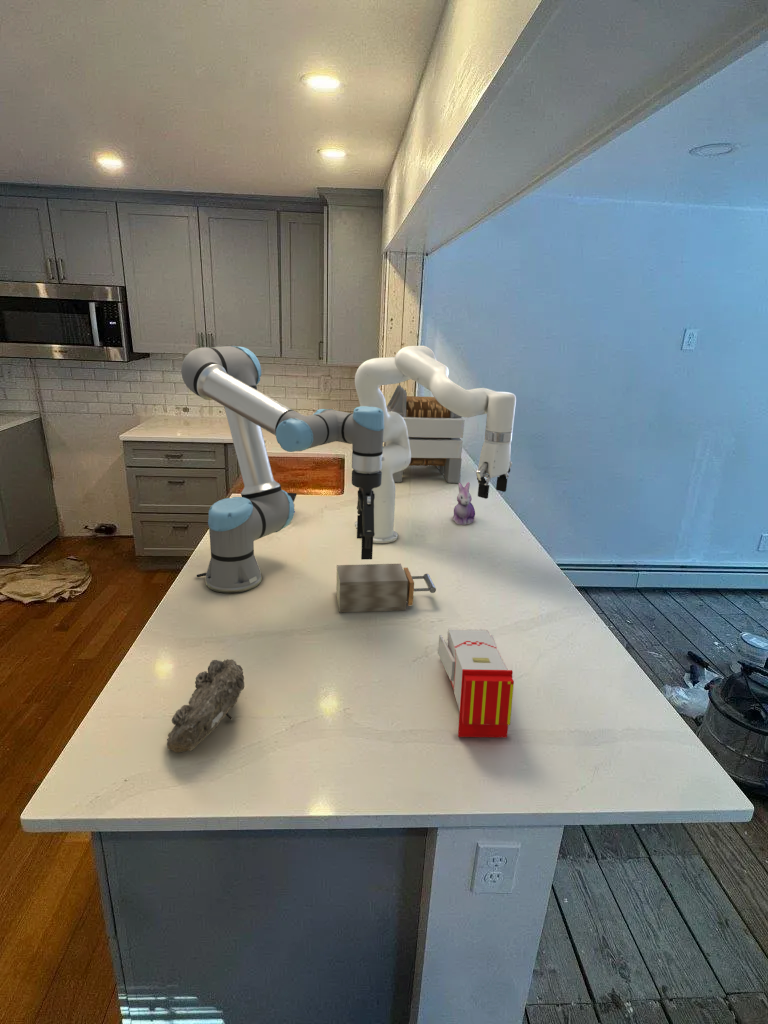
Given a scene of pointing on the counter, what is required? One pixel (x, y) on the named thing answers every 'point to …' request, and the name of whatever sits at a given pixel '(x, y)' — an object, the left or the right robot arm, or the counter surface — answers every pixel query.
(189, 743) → the fossil
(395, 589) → the grey boxy block
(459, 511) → the figurine
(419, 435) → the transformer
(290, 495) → the figurine character
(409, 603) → the drawer
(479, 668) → the toy
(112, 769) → the counter surface
